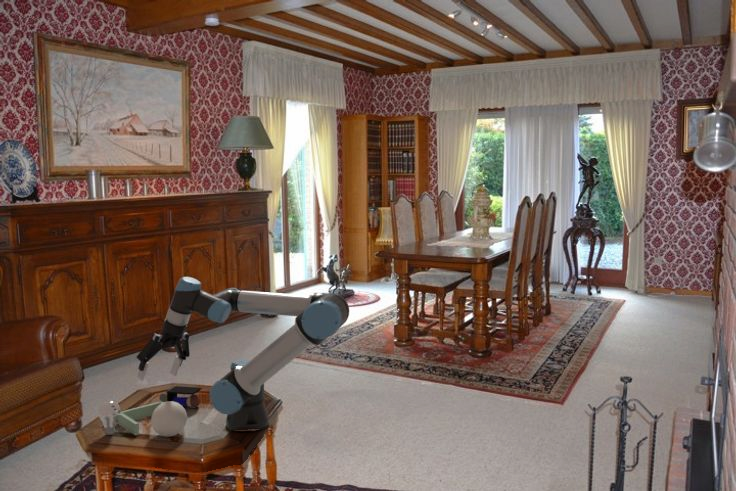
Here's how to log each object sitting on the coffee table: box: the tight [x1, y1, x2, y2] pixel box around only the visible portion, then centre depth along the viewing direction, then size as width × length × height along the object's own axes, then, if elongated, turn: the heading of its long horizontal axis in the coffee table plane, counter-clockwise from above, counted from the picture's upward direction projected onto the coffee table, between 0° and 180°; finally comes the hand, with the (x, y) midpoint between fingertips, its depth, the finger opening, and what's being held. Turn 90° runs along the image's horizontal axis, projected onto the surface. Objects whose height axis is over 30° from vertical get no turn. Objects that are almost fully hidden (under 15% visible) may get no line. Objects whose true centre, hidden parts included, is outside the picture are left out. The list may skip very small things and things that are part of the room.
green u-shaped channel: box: [116, 400, 164, 436], centre depth 221 cm, size 14×17×4 cm
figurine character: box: [159, 385, 203, 409], centre depth 238 cm, size 7×8×15 cm
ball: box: [150, 401, 188, 438], centre depth 211 cm, size 12×12×12 cm
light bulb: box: [97, 399, 121, 436], centre depth 210 cm, size 7×7×12 cm
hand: (156, 376), depth 212 cm, fingers open, 13 cm apart
